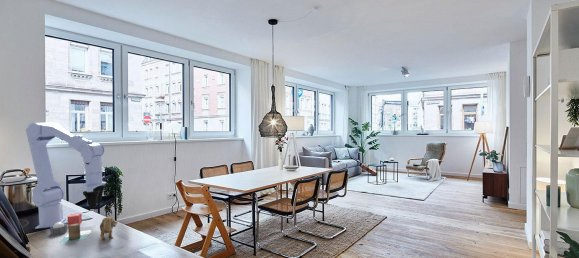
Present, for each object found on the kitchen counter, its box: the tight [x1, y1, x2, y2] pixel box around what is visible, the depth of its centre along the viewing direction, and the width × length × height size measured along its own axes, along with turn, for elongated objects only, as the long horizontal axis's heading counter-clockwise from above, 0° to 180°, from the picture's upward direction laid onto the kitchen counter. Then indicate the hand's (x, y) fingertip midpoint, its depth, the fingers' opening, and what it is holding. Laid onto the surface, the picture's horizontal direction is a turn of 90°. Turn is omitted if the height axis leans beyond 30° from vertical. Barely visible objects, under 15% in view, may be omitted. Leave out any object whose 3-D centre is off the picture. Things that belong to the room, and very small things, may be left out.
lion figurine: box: [99, 216, 119, 242], centre depth 115 cm, size 15×5×9 cm, turn 40°
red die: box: [67, 212, 83, 227], centre depth 130 cm, size 4×4×4 cm
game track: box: [59, 225, 96, 243], centre depth 119 cm, size 15×8×1 cm, turn 20°
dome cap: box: [53, 222, 65, 228], centre depth 120 cm, size 4×4×4 cm
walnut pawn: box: [67, 223, 81, 241], centre depth 114 cm, size 4×4×5 cm
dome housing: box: [49, 223, 68, 237], centre depth 120 cm, size 5×5×3 cm
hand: (95, 205), depth 125 cm, fingers open, 7 cm apart
